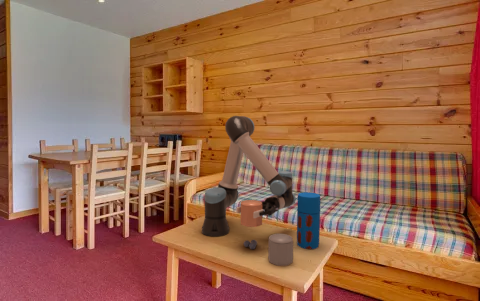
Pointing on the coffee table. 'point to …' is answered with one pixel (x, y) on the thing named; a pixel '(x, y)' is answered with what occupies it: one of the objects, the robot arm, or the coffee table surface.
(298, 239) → the thermos
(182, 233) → the coffee table surface
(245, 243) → the marble
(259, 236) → the coffee table surface
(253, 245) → the marble
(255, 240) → the marble
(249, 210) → the octagonal lidded canister
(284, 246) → the brown octagonal jar
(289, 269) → the coffee table surface
